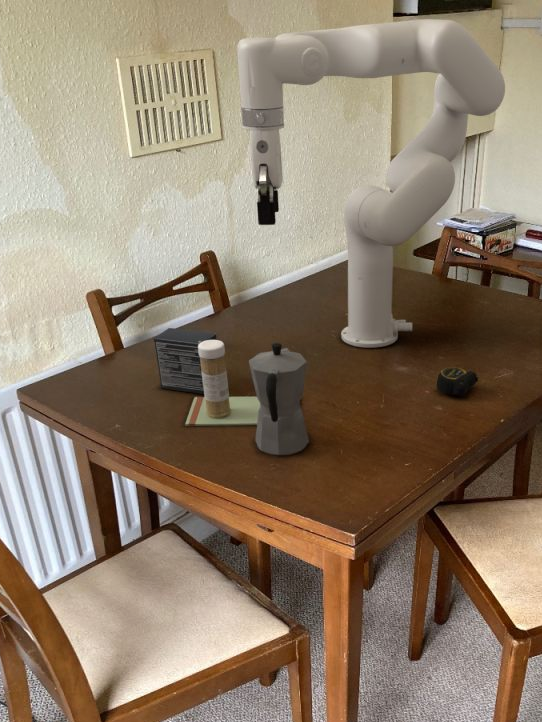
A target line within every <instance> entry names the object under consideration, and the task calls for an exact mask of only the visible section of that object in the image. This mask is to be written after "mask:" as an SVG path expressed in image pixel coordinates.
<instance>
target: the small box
mask: <svg viewBox="0 0 542 722" xmlns="http://www.w3.org/2000/svg"><path fill="white" fill-rule="evenodd" d="M206 340H218V339H217V333H216V332H208V331H199V330H192V329H181V328H175V327H174V328H173V327H167V329H165V330H164V331H162V332H160V333H159V334H157V335H155V336H154V337H153V342H154V346H155V348H154V349H155V354H156V362H157V368H158V375H159V382H160V389H162V390H164V389H165V390H171V391H176V392H177V391H178V392H185V393H191V394H192V393H193V394H200V395H204V388H203V380H202V368H201V360H200V356H199V352H198V345H199V344H200V343H201V342H203V341H206Z"/></svg>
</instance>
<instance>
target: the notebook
mask: <svg viewBox="0 0 542 722" xmlns="http://www.w3.org/2000/svg"><path fill="white" fill-rule="evenodd" d="M229 404H230V409H231V412H230V414H228V415H227V416H225V417H221V418H213V417H210V416H208V415H207V413H206V410H207V409H206V401H205V396H194V398H193V400H192V403H191V406H190V409H189V412H188V415H187V416H186V417H187V418H186V420H185V423H184V425H185V426H184V427H196V426H197V427H208V426H209V427H211V426H215V427H218V426H219V427H220V426H257V421H258V411H259V409H260V402H259V400H258V398H257V395H256V396H229Z"/></svg>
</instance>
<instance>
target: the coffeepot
mask: <svg viewBox="0 0 542 722" xmlns="http://www.w3.org/2000/svg"><path fill="white" fill-rule="evenodd" d="M282 347H283V345H282V343H279V342H274V343H272V344H271V349H272V350H271V351H263V352H258V354H256V355H254V356H253V357H252V358H250V359H249V360H248V364H249V369H250V373H251V378H252V381H253V386H254V390H255V395H256V396H257V398H258V400H259V402H260V409H259V411H258V421H257V425H256V432H255V443H256V445H257V448H258V449H259V450H260V451H261V452H264V454H267V455H271V456H289V455H294V454H296V453H299V452H301V451H302V450H304V449H305V448H306V447H307V445H308V444H309V443H310V440H309V435H308V431H307V425H306V421H305V417H304V413H303V409H302V407H301V400H302V399H303V395H304V387H305V381H306V380H305V378H306V371H307V360H306V359H305V358H304V356H303V355H302V354H301V353H300V352H295V351H291V350H290V349H289V348H288V347H284V348H282Z"/></svg>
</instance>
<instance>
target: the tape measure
mask: <svg viewBox="0 0 542 722" xmlns="http://www.w3.org/2000/svg"><path fill="white" fill-rule="evenodd" d="M478 382H479V377H478V376H477V373H476V372H475V371H472V370H469V371H468V370H466V369H464V368H461V367H455V366H451V367H450V366H449V367H445V368H442V369H441V370H440V371H439V372H438V373H437V376H436V388H437V390H438V391H439V392H441V393H442V394H444V395H449V396H457V397H463V396H464V395H465V394H466V393H467V392H468V391H469V390H470V389H471V388H472V387H474V386H475V384H476V383H478Z"/></svg>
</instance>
